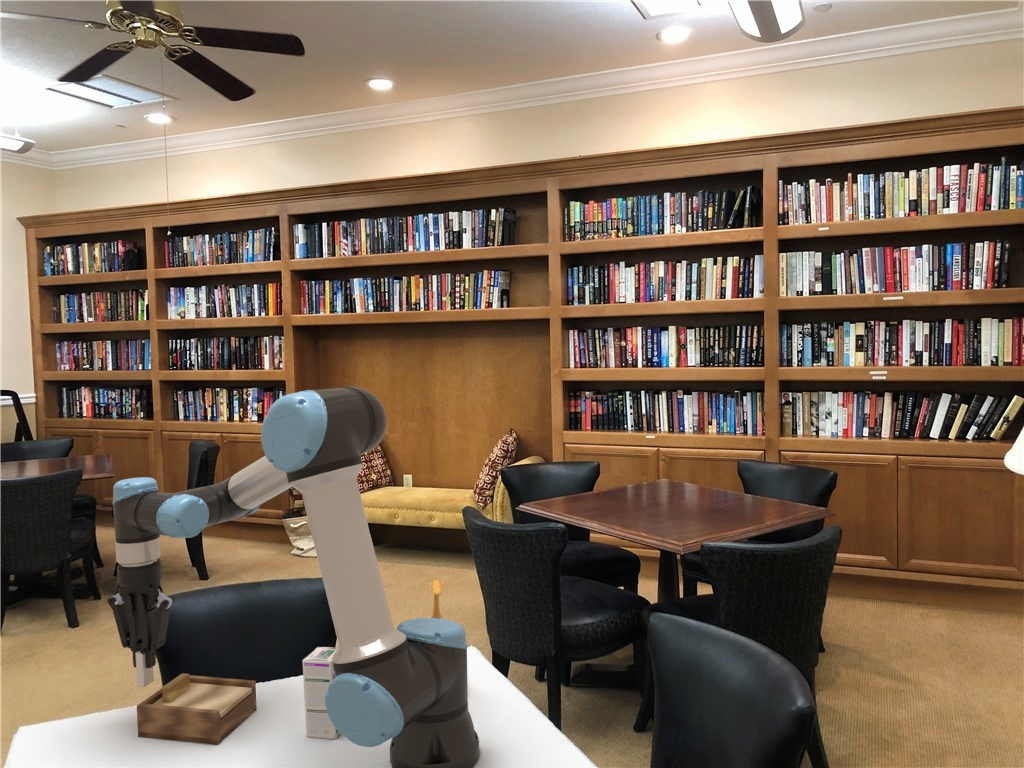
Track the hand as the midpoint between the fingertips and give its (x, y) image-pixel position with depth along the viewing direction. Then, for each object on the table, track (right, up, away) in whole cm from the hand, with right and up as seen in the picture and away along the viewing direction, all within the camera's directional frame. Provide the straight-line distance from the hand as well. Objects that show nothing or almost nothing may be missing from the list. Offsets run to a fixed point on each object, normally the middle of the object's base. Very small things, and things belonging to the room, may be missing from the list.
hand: (145, 683), depth 147 cm
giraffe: (+54, -5, +9) cm, 55 cm away
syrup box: (+36, -7, -6) cm, 37 cm away
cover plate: (+11, -3, -2) cm, 12 cm away
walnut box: (+11, -7, -2) cm, 13 cm away
